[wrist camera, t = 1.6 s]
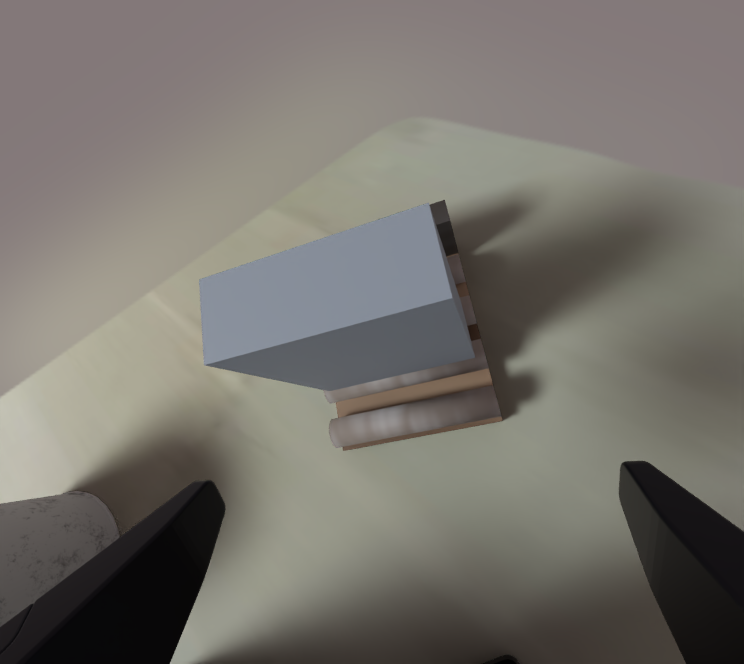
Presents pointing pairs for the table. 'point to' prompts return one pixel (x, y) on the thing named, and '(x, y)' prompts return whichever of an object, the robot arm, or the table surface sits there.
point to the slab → (340, 308)
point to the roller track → (420, 384)
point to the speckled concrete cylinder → (48, 544)
